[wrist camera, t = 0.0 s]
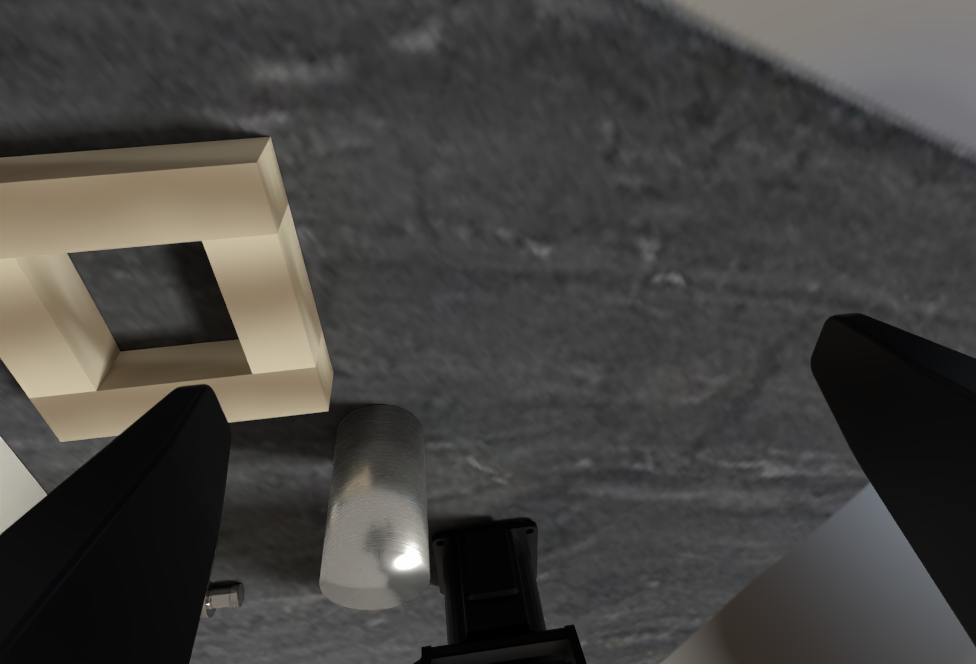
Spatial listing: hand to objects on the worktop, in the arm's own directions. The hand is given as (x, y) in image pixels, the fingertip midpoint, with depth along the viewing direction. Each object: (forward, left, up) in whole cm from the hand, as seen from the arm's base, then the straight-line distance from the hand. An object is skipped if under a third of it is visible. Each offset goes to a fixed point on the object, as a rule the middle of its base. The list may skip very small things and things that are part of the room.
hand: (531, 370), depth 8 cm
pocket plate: (-6, +12, -15) cm, 20 cm away
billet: (-16, +5, -15) cm, 23 cm away
